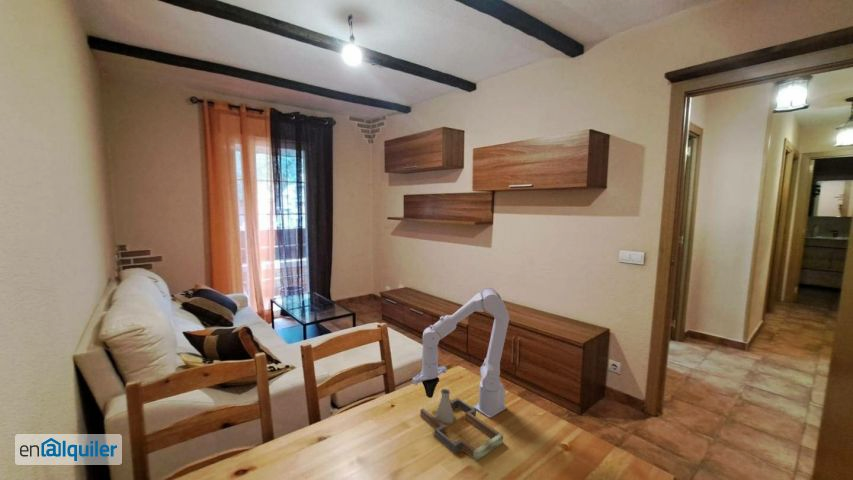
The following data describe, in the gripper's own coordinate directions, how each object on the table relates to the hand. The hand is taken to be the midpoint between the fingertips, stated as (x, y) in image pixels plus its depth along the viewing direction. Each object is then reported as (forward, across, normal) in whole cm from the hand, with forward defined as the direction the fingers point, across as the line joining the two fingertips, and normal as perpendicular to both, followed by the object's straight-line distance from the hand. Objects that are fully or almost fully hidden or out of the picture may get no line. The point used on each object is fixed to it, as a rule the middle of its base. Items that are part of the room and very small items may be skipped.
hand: (429, 396), depth 125 cm
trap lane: (+4, 0, +16) cm, 16 cm away
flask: (+4, 0, +8) cm, 9 cm away
